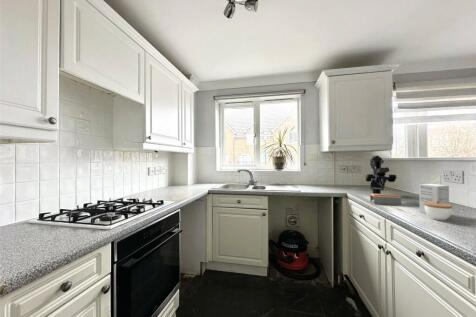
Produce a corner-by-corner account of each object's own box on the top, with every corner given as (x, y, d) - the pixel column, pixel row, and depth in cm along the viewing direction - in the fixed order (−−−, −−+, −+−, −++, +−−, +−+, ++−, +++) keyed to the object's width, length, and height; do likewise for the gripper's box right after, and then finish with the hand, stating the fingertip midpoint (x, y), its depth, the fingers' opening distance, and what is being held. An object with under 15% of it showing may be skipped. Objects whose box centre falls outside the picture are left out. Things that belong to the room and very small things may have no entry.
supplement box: (430, 211, 123) (430, 183, 123) (449, 215, 114) (449, 185, 114) (418, 212, 120) (418, 183, 120) (437, 216, 111) (437, 185, 111)
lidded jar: (443, 216, 112) (443, 199, 112) (458, 222, 101) (458, 203, 101) (419, 215, 114) (419, 198, 114) (431, 220, 104) (431, 202, 104)
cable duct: (370, 201, 151) (370, 194, 151) (395, 202, 146) (395, 195, 146) (374, 203, 143) (374, 196, 143) (401, 205, 138) (401, 198, 138)
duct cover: (370, 194, 151) (370, 192, 151) (395, 195, 146) (395, 193, 146) (374, 196, 143) (374, 194, 143) (401, 198, 138) (401, 195, 138)
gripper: (366, 163, 155) (371, 179, 144) (395, 163, 149) (402, 180, 139) (363, 173, 162) (367, 189, 152) (390, 173, 157) (397, 190, 146)
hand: (383, 187), depth 147 cm, fingers closed
